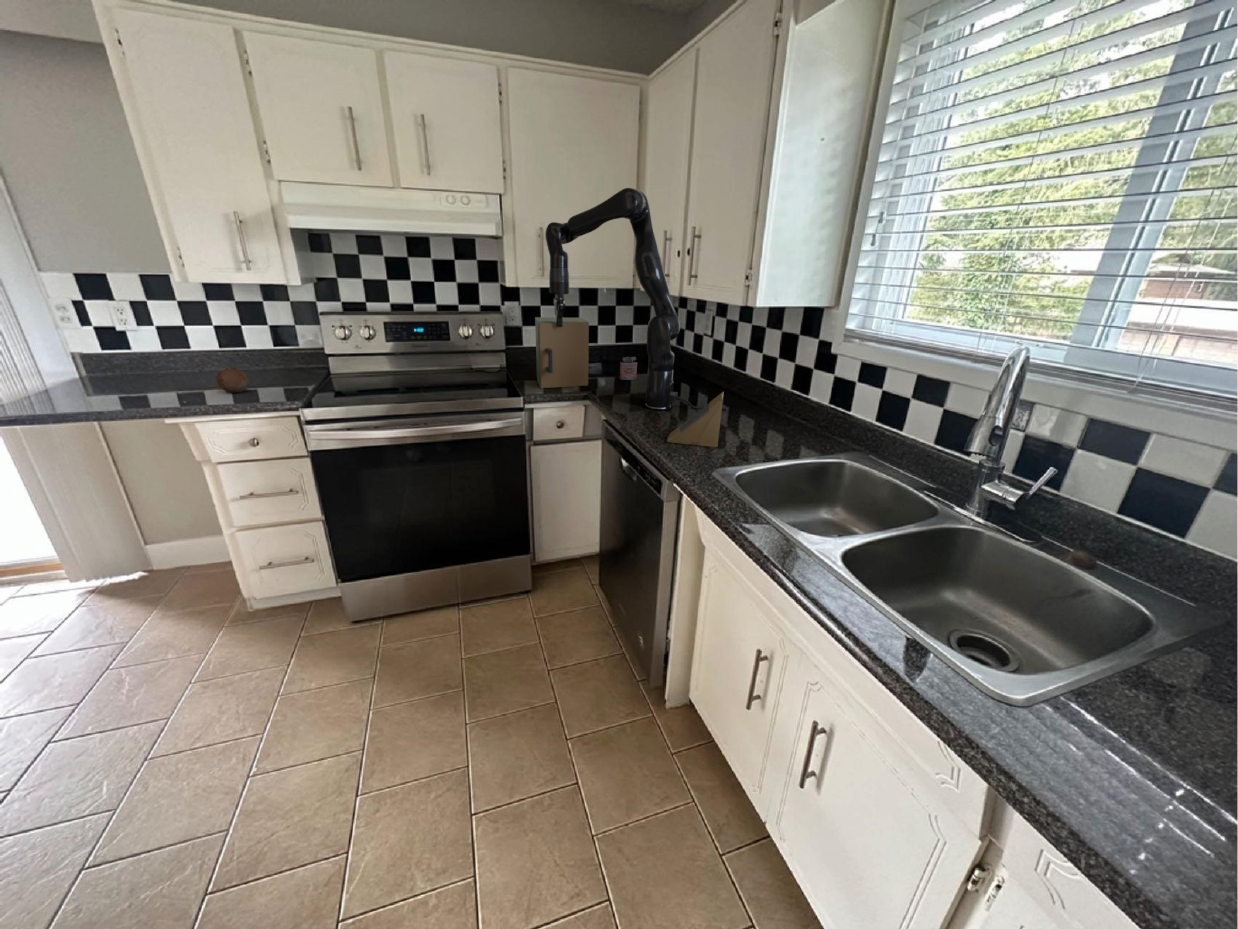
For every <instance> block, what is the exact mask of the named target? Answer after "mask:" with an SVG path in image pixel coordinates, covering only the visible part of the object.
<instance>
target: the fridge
mask: <svg viewBox="0 0 1238 929" xmlns="http://www.w3.org/2000/svg"><path fill="white" fill-rule="evenodd" d="M562 318H563V323H565V322H589V321H588V320H586V319H585V318H584V317H562ZM534 323H535V324H534V325H535V330H534V331H535V354H536V355H535V358H536V360H535V361H536V362H535V363H536V364H535V365H536V380H537V383H538V385H539V387H541V381H540V342H539V323H556V317H549V316H548V317H543V316H541V317H540V316H535V317H534Z"/></svg>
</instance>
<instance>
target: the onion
mask: <svg viewBox="0 0 1238 929" xmlns="http://www.w3.org/2000/svg"><path fill="white" fill-rule="evenodd" d="M215 382H216V384H217V386H218V387H219V388H220V389H221V390H223V391H224V392H226V393H230V394H238V393H243V392H245V391H246V390H247V389H248V386H249V378H248V376H247V374H246V373H245V372H243V371H241V370H239V369H238V368H235V367H233V366H229V367H227V368H225V369H222V370H221V371H219V372H218V373H217V374H216V376H215Z"/></svg>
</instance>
